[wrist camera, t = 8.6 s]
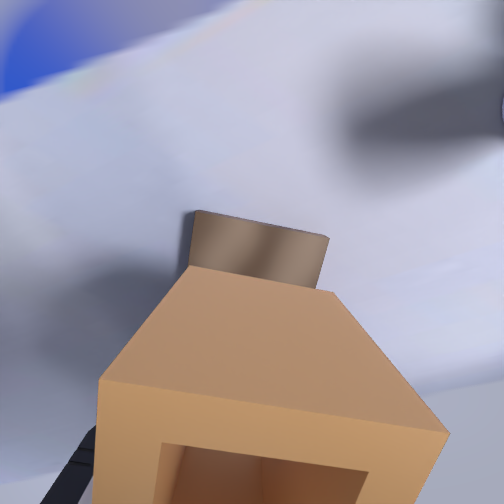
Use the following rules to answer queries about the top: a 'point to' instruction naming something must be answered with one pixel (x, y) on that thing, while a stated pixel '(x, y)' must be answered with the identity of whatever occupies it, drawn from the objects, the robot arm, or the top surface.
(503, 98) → the beer glass
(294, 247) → the keeper board
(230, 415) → the orange link
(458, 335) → the top surface
